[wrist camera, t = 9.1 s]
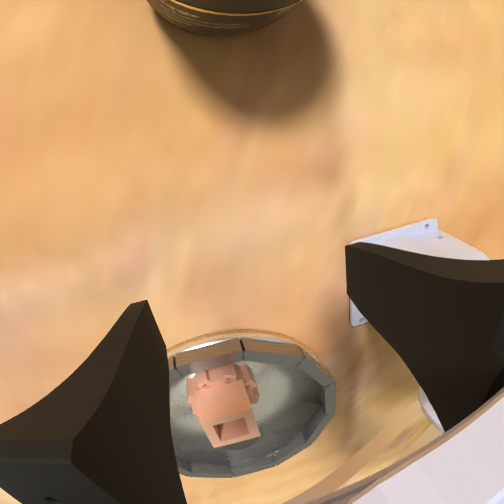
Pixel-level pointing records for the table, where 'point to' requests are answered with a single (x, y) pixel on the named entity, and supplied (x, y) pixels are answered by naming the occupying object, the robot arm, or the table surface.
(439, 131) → the table surface
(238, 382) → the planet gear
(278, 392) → the plate
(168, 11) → the jar
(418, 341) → the robot arm
